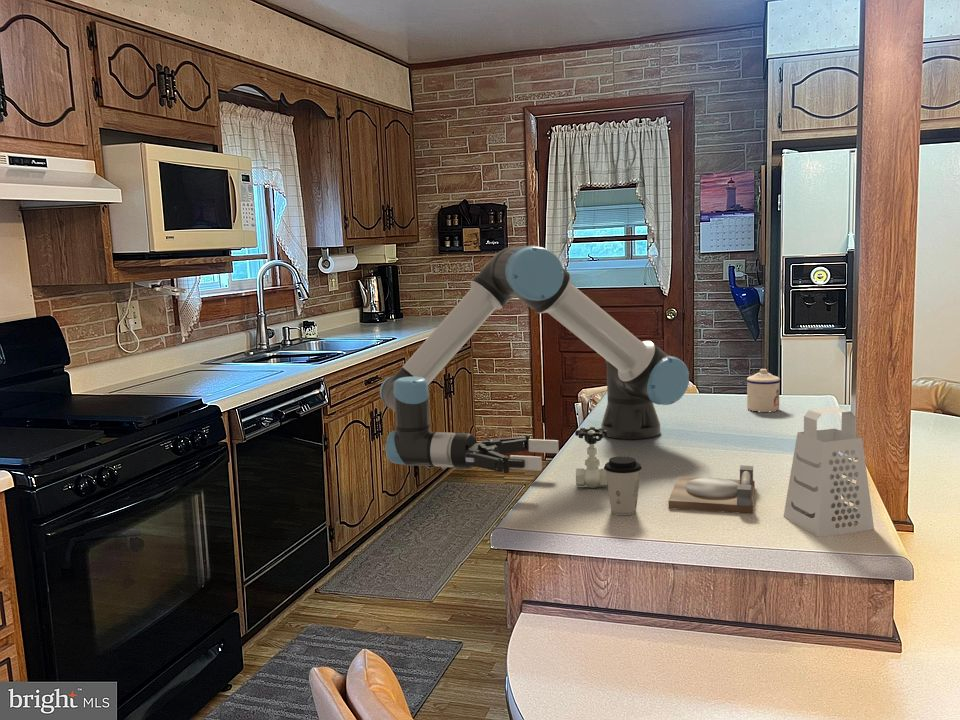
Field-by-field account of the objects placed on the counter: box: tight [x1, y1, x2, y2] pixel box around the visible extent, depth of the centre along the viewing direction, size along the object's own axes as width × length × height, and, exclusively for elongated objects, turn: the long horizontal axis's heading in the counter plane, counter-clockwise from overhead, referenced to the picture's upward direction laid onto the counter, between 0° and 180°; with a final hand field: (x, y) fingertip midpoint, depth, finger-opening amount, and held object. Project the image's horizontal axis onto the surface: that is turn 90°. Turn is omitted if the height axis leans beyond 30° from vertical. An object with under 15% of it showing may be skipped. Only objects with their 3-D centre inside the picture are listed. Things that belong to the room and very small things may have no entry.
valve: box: [574, 426, 608, 489], centre depth 169 cm, size 7×7×12 cm
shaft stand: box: [667, 465, 756, 515], centre depth 160 cm, size 16×15×4 cm
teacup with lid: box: [746, 368, 781, 413], centre depth 236 cm, size 12×9×12 cm
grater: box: [783, 407, 875, 537], centre depth 143 cm, size 10×10×20 cm
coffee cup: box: [603, 456, 643, 516], centre depth 154 cm, size 7×7×10 cm
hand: (550, 454), depth 172 cm, fingers open, 13 cm apart
